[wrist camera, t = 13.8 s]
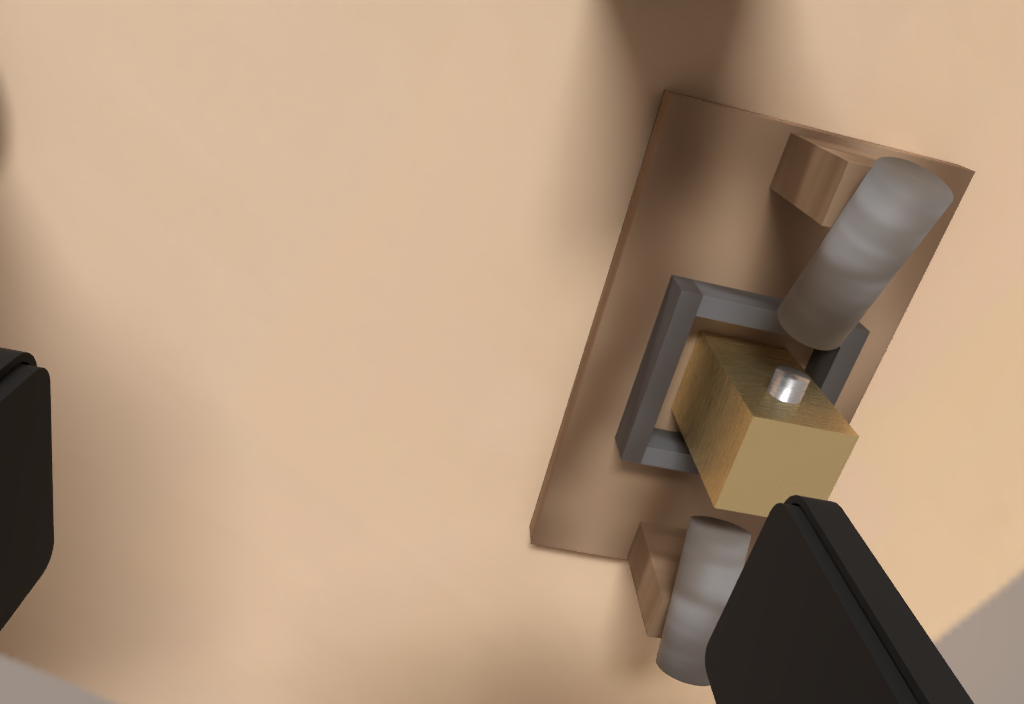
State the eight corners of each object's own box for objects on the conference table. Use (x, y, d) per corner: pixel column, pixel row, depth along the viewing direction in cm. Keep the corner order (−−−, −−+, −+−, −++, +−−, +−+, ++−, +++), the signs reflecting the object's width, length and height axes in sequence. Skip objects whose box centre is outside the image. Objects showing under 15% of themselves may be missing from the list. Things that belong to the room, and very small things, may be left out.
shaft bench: (528, 529, 43) (540, 678, 34) (666, 84, 33) (737, 125, 24) (759, 569, 45) (830, 720, 36) (958, 158, 35) (1129, 223, 26)
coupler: (707, 310, 36) (762, 394, 29) (793, 328, 36) (869, 414, 29) (664, 425, 39) (706, 527, 31) (746, 440, 39) (805, 544, 32)
